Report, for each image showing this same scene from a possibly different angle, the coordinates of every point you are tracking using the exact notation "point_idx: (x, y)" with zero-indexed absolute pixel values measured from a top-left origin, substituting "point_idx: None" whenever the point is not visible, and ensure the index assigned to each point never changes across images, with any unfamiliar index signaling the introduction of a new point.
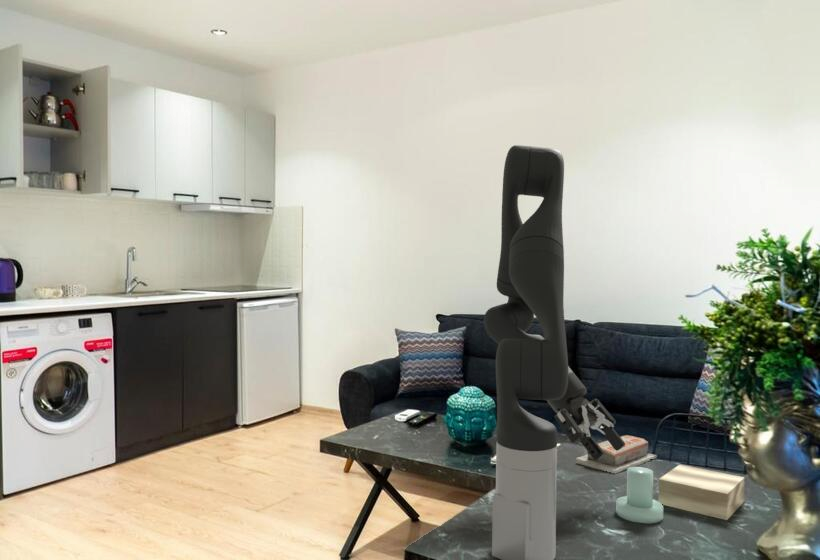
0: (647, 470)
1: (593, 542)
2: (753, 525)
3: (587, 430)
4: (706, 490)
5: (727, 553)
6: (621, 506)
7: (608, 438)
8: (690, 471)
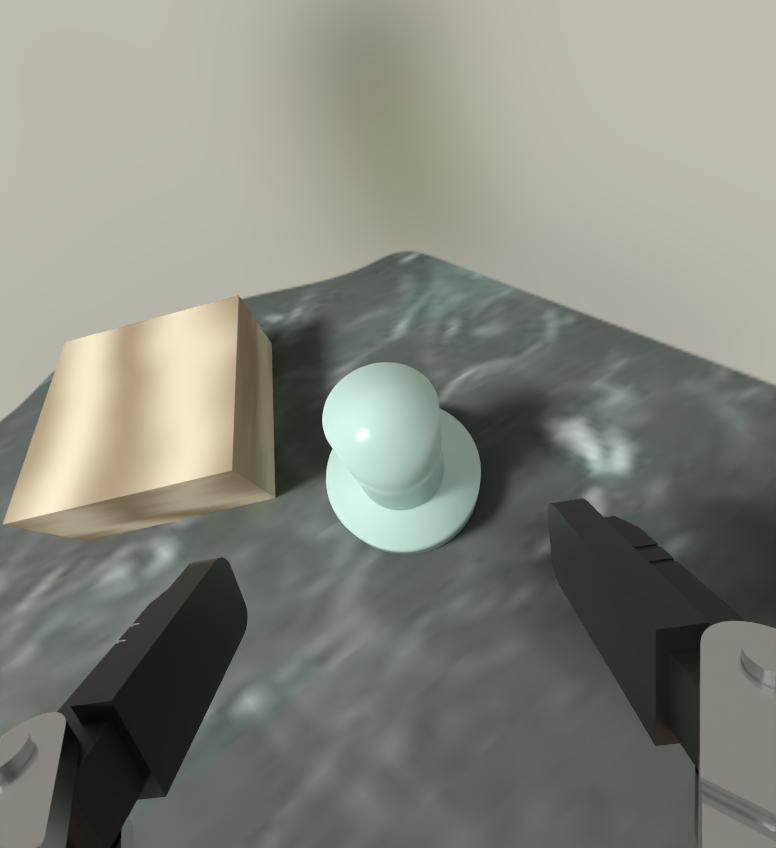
0: (350, 395)
1: (724, 430)
2: (264, 306)
3: (768, 730)
4: (238, 339)
5: (448, 262)
6: (478, 488)
7: (190, 718)
8: (78, 453)
